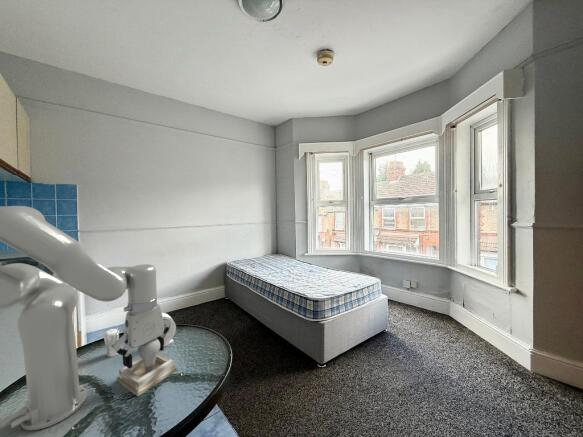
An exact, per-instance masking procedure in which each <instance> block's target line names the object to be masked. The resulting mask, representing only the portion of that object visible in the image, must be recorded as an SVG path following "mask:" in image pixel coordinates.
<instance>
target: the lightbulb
mask: <svg viewBox="0 0 583 437" xmlns="http://www.w3.org/2000/svg"><path fill="white" fill-rule="evenodd" d="M159 349H160V342H159V340H158V339H157V338H155V339H153V340H151V341H149V342H147V343H145V344H143V345H141V346H139V347H137V353H138V356H139V358H142V360H143V362H144V366H145V372H151V371H152V370H153V369H154V363H155V358H156V355H157V353H159V351H160V350H159Z"/></svg>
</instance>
